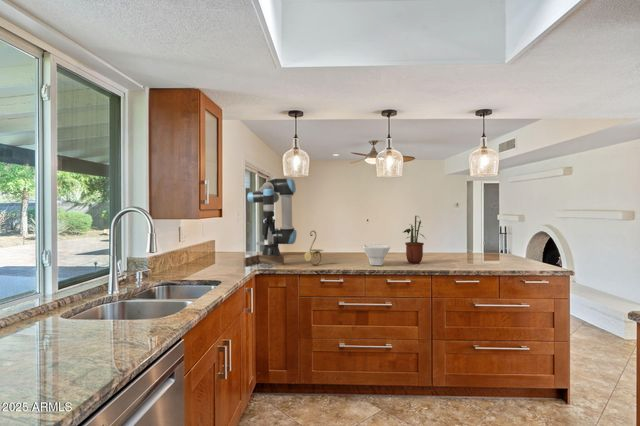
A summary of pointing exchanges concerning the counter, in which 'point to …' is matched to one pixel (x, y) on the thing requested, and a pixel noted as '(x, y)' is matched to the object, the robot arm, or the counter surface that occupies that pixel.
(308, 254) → the wall sconce
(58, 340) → the counter surface
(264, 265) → the mat
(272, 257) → the corner walls
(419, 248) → the potted plant
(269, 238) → the angle bracket
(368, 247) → the bowl
